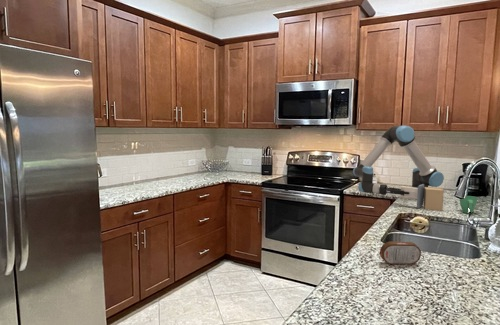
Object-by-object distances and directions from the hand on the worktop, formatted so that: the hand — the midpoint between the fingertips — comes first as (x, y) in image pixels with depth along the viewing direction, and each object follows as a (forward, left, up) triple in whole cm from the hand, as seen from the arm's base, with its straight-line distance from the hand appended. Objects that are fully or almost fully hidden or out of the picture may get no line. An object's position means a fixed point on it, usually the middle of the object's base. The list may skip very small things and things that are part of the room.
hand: (415, 193), depth 223 cm
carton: (-9, +6, -10) cm, 15 cm away
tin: (+88, +68, -10) cm, 112 cm away
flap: (-1, -4, -9) cm, 10 cm away
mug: (-19, +24, -10) cm, 32 cm away
